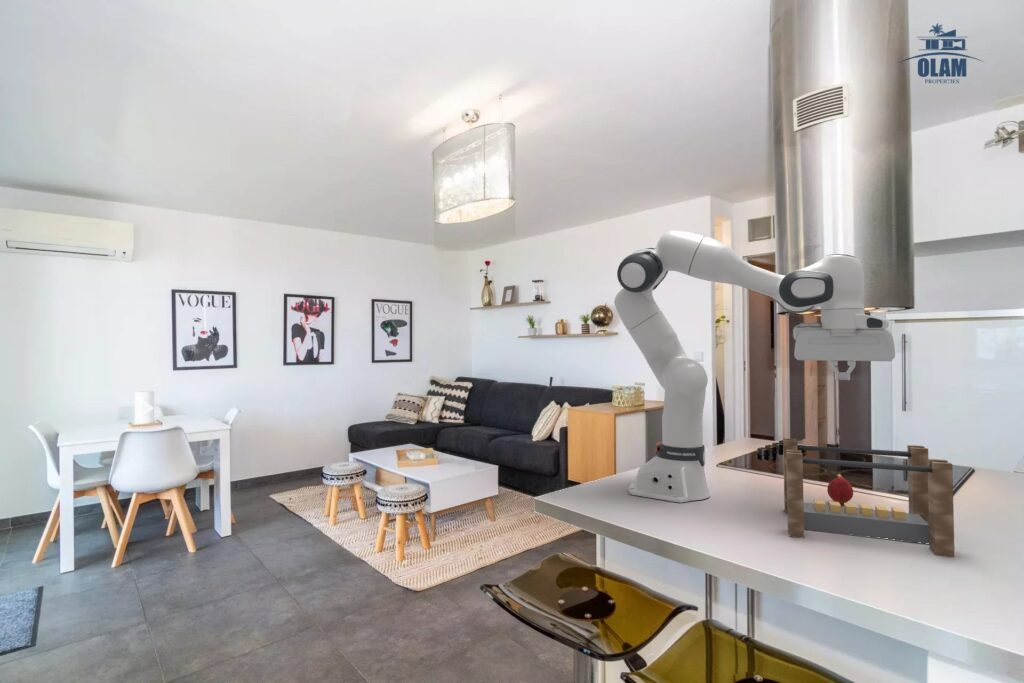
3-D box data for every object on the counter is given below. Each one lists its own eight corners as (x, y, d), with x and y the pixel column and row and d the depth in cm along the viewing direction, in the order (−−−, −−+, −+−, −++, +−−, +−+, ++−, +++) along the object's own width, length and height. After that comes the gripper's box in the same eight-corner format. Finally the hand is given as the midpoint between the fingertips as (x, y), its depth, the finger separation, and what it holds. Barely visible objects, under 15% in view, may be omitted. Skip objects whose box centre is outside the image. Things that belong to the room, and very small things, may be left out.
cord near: (792, 462, 116) (791, 457, 116) (791, 461, 117) (791, 456, 117) (947, 474, 104) (947, 468, 104) (945, 473, 105) (945, 467, 105)
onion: (857, 508, 133) (857, 477, 133) (833, 507, 134) (832, 477, 134) (847, 502, 138) (847, 472, 138) (824, 501, 140) (823, 471, 140)
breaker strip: (799, 528, 119) (799, 504, 119) (797, 518, 126) (796, 495, 126) (929, 544, 109) (929, 517, 109) (918, 531, 116) (918, 506, 116)
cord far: (788, 449, 130) (788, 444, 130) (787, 448, 131) (787, 444, 131) (924, 458, 118) (924, 453, 118) (923, 457, 120) (922, 452, 120)
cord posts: (788, 536, 115) (787, 453, 115) (784, 509, 133) (783, 438, 133) (954, 557, 102) (952, 464, 103) (924, 524, 120) (923, 445, 121)
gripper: (793, 322, 125) (793, 379, 125) (896, 320, 116) (897, 382, 116) (792, 323, 131) (792, 378, 131) (890, 321, 122) (890, 380, 122)
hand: (842, 380), depth 124 cm, fingers closed
